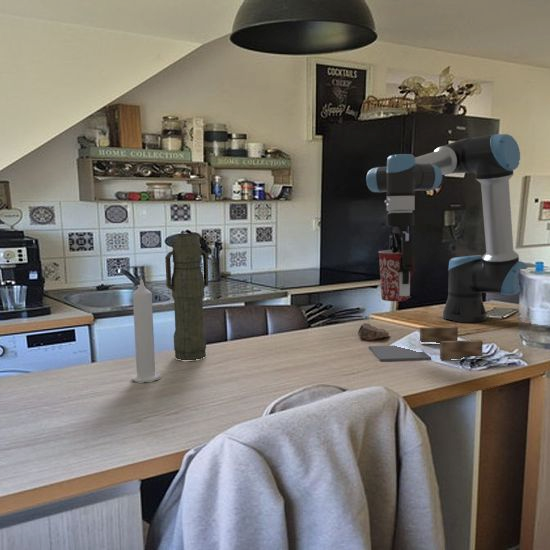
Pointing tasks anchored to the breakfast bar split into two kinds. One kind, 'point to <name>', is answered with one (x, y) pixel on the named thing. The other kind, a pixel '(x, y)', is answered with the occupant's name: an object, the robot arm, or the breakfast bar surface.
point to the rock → (371, 332)
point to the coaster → (397, 353)
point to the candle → (144, 336)
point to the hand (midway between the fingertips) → (399, 293)
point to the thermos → (188, 295)
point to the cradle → (451, 342)
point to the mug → (391, 275)
